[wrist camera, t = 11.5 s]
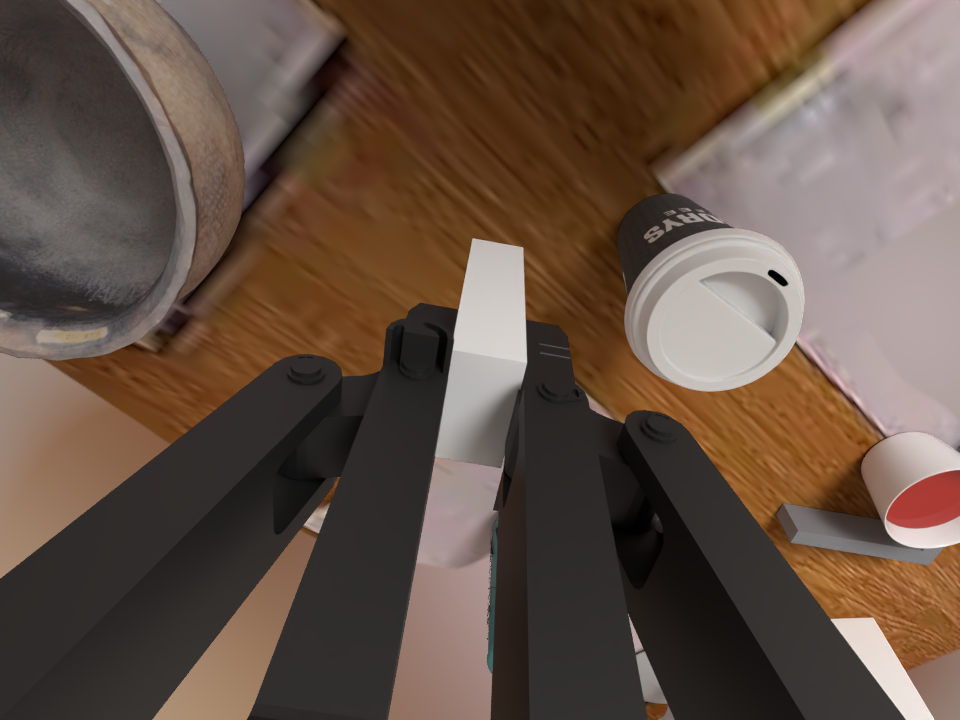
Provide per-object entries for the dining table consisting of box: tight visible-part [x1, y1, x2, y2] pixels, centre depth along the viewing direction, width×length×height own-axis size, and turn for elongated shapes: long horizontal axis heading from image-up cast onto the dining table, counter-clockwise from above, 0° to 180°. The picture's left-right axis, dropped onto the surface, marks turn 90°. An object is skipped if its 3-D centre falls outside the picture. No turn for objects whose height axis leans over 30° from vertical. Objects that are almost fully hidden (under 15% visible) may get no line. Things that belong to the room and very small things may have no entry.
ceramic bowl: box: [0, 0, 245, 361], centre depth 34 cm, size 22×22×15 cm
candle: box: [861, 432, 960, 549], centre depth 50 cm, size 9×9×6 cm
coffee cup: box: [617, 194, 804, 391], centre depth 37 cm, size 10×10×15 cm
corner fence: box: [776, 447, 960, 565], centre depth 51 cm, size 18×14×4 cm
